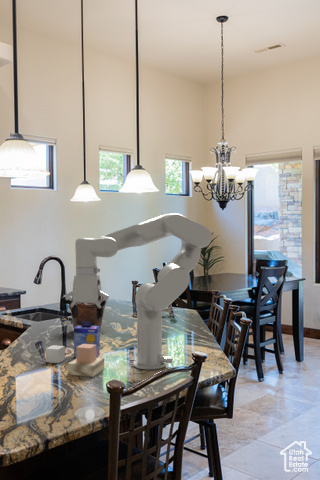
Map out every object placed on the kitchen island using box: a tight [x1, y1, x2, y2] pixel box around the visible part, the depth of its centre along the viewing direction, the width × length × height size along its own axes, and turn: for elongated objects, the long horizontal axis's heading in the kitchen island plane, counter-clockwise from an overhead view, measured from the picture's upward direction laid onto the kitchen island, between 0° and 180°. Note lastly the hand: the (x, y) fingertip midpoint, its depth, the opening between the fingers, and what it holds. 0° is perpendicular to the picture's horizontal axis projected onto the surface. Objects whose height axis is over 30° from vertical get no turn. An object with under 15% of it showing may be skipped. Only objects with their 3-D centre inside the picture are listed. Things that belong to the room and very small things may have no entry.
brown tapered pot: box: [68, 297, 106, 332], centre depth 246 cm, size 18×20×18 cm
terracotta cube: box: [75, 344, 96, 363], centre depth 177 cm, size 6×6×6 cm
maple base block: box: [67, 357, 105, 377], centre depth 177 cm, size 10×10×4 cm
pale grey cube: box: [45, 344, 66, 364], centre depth 192 cm, size 6×6×6 cm
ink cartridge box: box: [73, 322, 101, 358], centre depth 199 cm, size 10×6×14 cm, turn 85°
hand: (87, 318), depth 177 cm, fingers open, 9 cm apart
